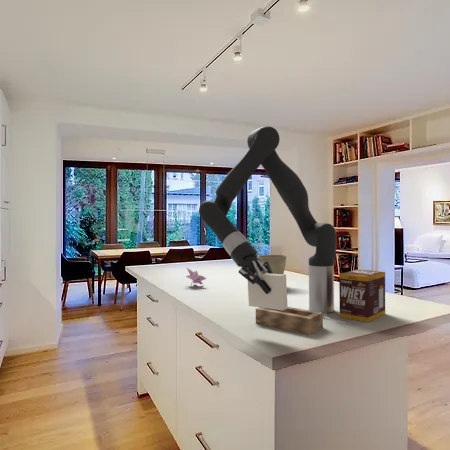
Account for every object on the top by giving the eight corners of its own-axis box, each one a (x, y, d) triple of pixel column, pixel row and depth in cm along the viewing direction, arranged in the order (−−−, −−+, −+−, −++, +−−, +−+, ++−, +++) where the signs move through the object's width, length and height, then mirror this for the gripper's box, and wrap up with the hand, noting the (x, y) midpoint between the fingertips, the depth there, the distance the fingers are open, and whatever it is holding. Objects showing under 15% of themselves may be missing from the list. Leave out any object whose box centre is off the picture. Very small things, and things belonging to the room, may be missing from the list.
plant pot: (285, 283, 194) (285, 254, 194) (287, 289, 179) (287, 257, 179) (257, 283, 196) (257, 254, 195) (257, 289, 181) (257, 257, 181)
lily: (207, 290, 185) (211, 272, 189) (187, 283, 180) (191, 265, 184) (197, 293, 194) (200, 277, 199) (177, 287, 190) (181, 270, 194)
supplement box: (338, 317, 128) (338, 273, 128) (358, 309, 139) (358, 268, 138) (367, 322, 120) (367, 276, 120) (385, 313, 131) (385, 271, 131)
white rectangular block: (248, 305, 111) (247, 273, 111) (254, 303, 114) (252, 272, 114) (282, 310, 104) (280, 275, 104) (287, 308, 106) (286, 274, 106)
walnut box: (255, 322, 122) (255, 308, 121) (270, 317, 128) (270, 303, 128) (309, 334, 109) (309, 318, 109) (322, 327, 116) (322, 312, 115)
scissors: (319, 310, 137) (361, 322, 119) (319, 312, 137) (361, 324, 119) (297, 313, 132) (338, 327, 114) (297, 316, 132) (338, 329, 114)
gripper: (231, 242, 108) (266, 287, 100) (258, 239, 119) (292, 279, 111) (218, 258, 111) (251, 303, 104) (246, 254, 122) (277, 294, 115)
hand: (272, 290), depth 107 cm, fingers closed on white rectangular block, 3 cm apart
